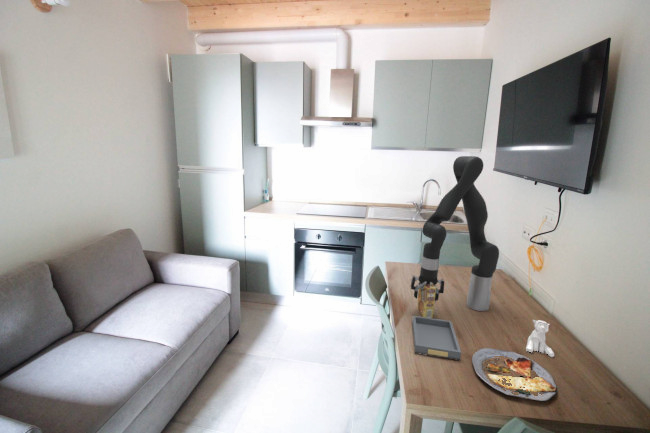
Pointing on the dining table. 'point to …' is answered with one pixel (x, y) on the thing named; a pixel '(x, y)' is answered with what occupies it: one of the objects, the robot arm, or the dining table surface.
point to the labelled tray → (435, 337)
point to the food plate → (521, 367)
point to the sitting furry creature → (539, 339)
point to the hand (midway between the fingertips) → (425, 299)
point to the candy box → (426, 300)
